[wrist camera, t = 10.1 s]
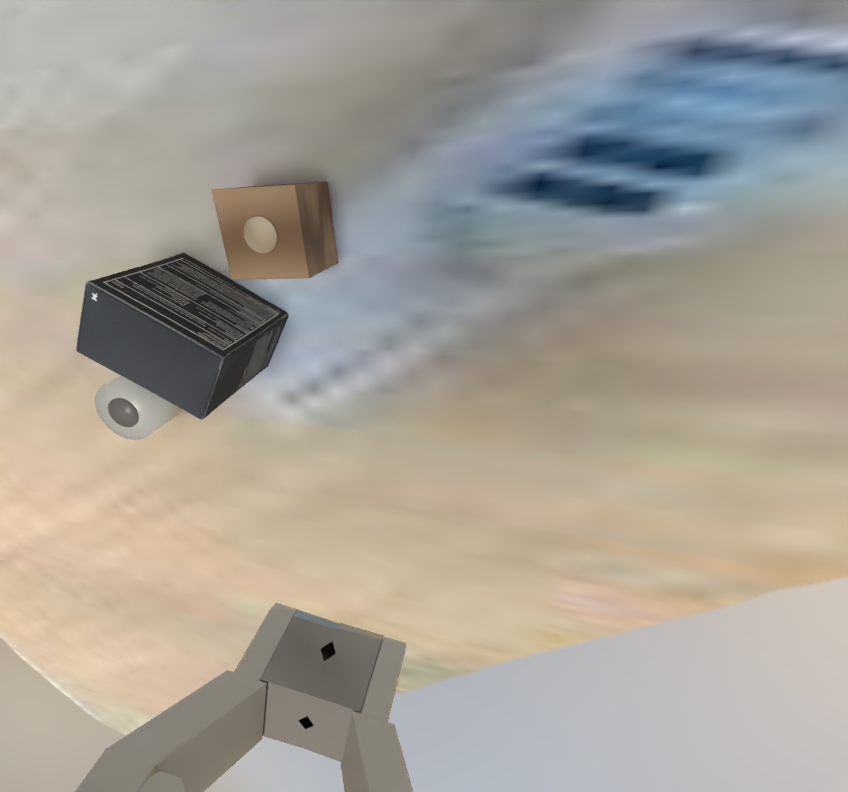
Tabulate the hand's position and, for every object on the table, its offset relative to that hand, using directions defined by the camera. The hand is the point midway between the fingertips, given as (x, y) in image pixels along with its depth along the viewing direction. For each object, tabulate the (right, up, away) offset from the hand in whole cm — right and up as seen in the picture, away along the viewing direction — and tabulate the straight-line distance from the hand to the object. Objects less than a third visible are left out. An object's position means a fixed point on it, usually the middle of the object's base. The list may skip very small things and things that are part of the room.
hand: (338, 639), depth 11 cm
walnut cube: (-8, +19, +28) cm, 35 cm away
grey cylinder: (-23, +6, +37) cm, 44 cm away
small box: (-16, +13, +33) cm, 38 cm away
